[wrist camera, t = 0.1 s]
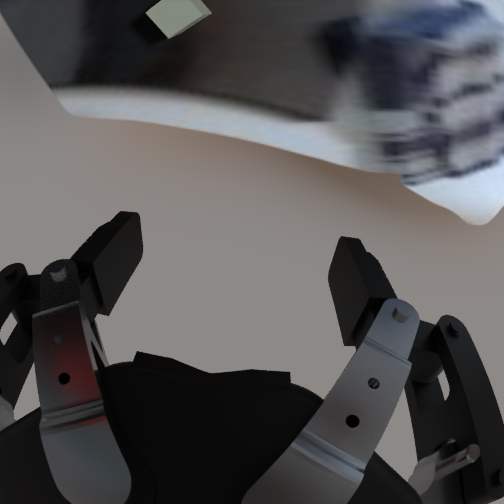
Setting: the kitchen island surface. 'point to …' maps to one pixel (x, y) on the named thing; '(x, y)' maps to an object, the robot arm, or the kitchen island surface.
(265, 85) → the kitchen island surface
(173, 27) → the sage cube
